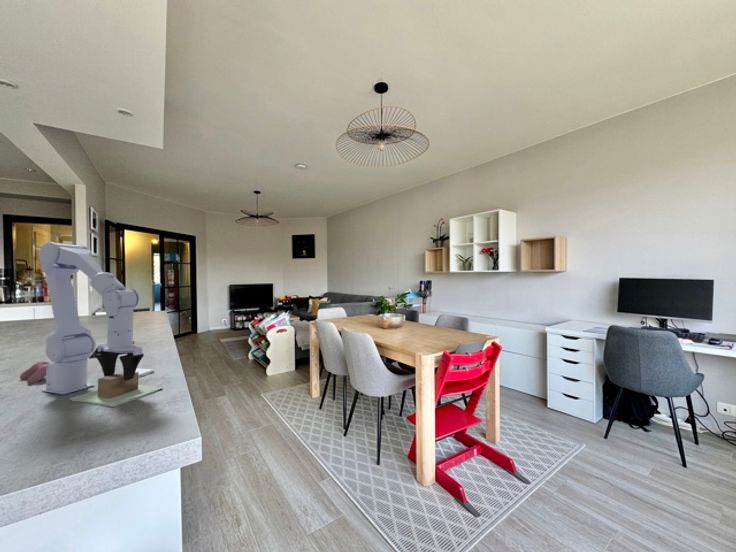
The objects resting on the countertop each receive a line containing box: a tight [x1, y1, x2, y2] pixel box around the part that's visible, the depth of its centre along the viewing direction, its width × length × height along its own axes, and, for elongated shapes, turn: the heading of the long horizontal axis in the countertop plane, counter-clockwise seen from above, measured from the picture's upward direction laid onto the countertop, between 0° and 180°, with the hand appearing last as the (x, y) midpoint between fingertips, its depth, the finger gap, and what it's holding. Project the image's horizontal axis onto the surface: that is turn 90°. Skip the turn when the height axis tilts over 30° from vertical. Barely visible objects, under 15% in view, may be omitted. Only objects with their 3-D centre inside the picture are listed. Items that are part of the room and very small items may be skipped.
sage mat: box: [70, 383, 163, 408], centre depth 89 cm, size 16×14×1 cm
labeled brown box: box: [97, 371, 139, 399], centre depth 89 cm, size 8×4×5 cm, turn 165°
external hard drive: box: [135, 367, 155, 378], centre depth 106 cm, size 2×8×12 cm
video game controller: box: [19, 360, 51, 385], centre depth 101 cm, size 10×5×7 cm, turn 58°
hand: (119, 377), depth 89 cm, fingers open, 7 cm apart
